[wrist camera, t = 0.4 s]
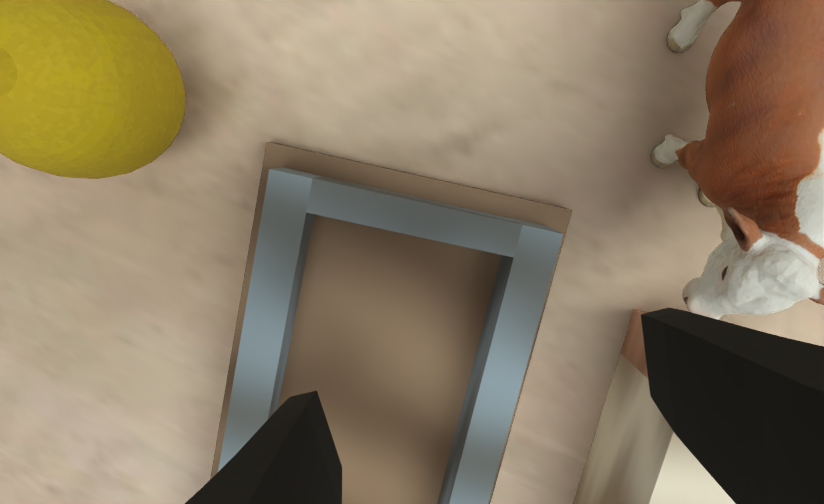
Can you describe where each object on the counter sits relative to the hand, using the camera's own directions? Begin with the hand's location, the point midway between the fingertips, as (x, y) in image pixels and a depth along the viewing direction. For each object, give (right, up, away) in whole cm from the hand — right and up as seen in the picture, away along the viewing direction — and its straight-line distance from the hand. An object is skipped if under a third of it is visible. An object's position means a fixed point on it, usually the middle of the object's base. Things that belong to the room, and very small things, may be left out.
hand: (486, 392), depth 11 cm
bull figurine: (+9, +8, +9) cm, 16 cm away
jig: (-4, -4, +11) cm, 13 cm away
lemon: (-12, +9, +9) cm, 17 cm away
